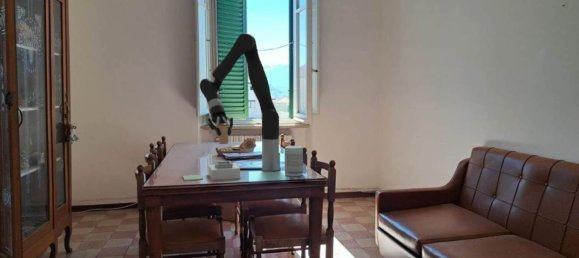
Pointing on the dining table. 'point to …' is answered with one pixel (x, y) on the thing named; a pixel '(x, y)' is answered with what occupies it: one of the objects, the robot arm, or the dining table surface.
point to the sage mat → (192, 177)
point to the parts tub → (224, 170)
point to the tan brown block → (223, 133)
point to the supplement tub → (293, 161)
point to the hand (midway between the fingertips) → (224, 134)
